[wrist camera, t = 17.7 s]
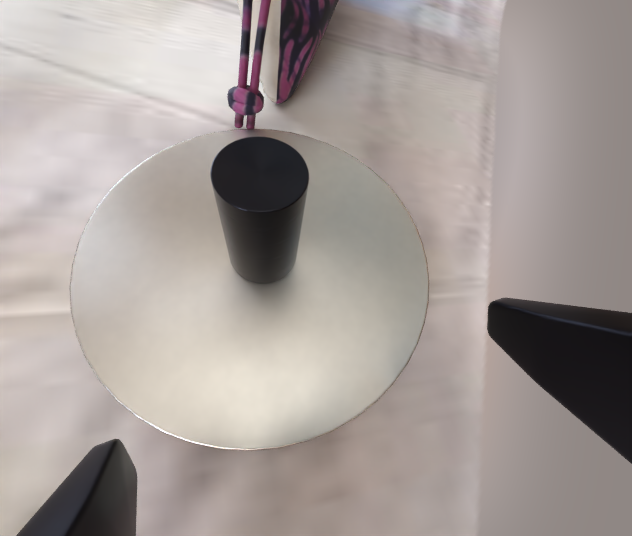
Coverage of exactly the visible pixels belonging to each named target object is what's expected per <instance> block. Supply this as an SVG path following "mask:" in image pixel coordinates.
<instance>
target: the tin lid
mask: <svg viewBox="0 0 632 536" xmlns="http://www.w3.org/2000/svg"><path fill="white" fill-rule="evenodd" d="M428 296H429V277H428V267H427V260H426V256H425V252H424V248H423V244H422V241H421V238H420V236H419V233H418V231H417V228H416V226H415V224H414V222H413V220H412V218H411V216H410V214H409V212H408V211H407V209H406V208H405V206H404V205H403V203H402V202H401V200H400V199H399V198H398V196H397V195H396V194H395V193H394V192H393V190H392V189H391V188H390V187H389V186H388V185H387V184H386V182H385V181H383V180H382V179H381V178H380V177H379V176H378V175H377V174H376V173H375V172H374V171H372V170H371V169H370V168H369V167H367V166H366V165H364V164H363V163H362V162H360V161H359V160H358V159H356V158H354V157H353V156H351V155H349V154H347V153H346V152H344V151H342V150H340V149H338V148H336V147H334V146H332V145H329V144H327V143H325V142H322V141H319V140H316V139H313V138H310V137H307V136H303V135H299V134H295V133H291V132H284V131H277V130H267V129H237V130H228V131H221V132H214V133H210V134H206V135H202V136H198V137H194V138H192V139H189V140H186V141H183V142H180V143H177V144H175V145H173V146H171V147H169V148H167V149H164V150H162V151H160V152H158V153H157V154H155V155H153V156H152V157H150V158H148V159H147V160H145V161H143V162H142V163H141V164H139V165H138V166H137V167H135V168H134V169H133V170H131V171H130V172H129V173H127V174H126V175H125V176H124V177H123V178H122V179H121V180H120V181H119V182H118V183H117V184H116V185H115V186H114V187H113V188H112V189H111V190H110V191H109V192H108V194H107V195H106V196H105V197H104V199H103V200H102V201H101V202H100V203H99V205H98V206H97V208H96V209H95V211H94V213H93V214H92V216H91V218H90V219H89V221H88V223H87V224H86V227H85V229H84V231H83V234H82V236H81V238H80V240H79V243H78V246H77V250H76V253H75V257H74V261H73V264H72V273H71V282H70V301H71V314H72V318H73V323H74V327H75V332H76V336H77V338H78V341H79V343H80V346H81V348H82V351H83V353H84V356H85V358H86V360H87V361H88V363H89V365H90V366H91V368H92V370H93V371H94V373H95V374H96V376H97V378H98V379H99V381H100V382H101V383H102V384H103V385H104V386H105V388H106V389H107V390H108V391H109V392H110V393H111V394H112V395H113V397H114V398H115V399H116V400H117V401H118V402H119V403H121V404H122V405H123V406H124V407H125V408H127V409H128V410H129V411H130V412H132V413H133V414H134V415H135V416H137V417H138V418H139V419H141V420H143V421H144V422H146V423H148V424H150V425H151V426H153V427H155V428H157V429H158V430H160V431H162V432H164V433H166V434H169V435H172V436H174V437H177V438H179V439H182V440H185V441H187V442H190V443H194V444H199V445H204V446H208V447H213V448H218V449H229V450H246V451H251V450H263V449H274V448H281V447H285V446H289V445H294V444H298V443H302V442H306V441H309V440H311V439H314V438H316V437H319V436H321V435H324V434H327V433H329V432H332V431H334V430H335V429H337V428H339V427H341V426H342V425H344V424H346V423H348V422H349V421H351V420H353V419H355V418H356V417H357V416H359V415H360V414H361V413H363V412H364V411H365V410H366V409H368V408H369V407H370V406H371V405H373V404H374V403H375V402H377V401H378V399H379V398H380V397H381V396H382V395H383V394H384V393H385V392H386V391H387V390H388V389H389V388H390V387H391V386H392V385H393V384H394V382H395V381H396V379H397V378H398V377H399V375H400V374H401V372H402V371H403V370H404V368H405V367H406V365H407V364H408V362H409V360H410V358H411V356H412V354H413V352H414V350H415V348H416V346H417V344H418V341H419V338H420V335H421V332H422V329H423V326H424V323H425V318H426V312H427V307H428Z"/></svg>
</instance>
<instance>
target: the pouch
mask: <svg viewBox="0 0 632 536" xmlns="http://www.w3.org/2000/svg"><path fill="white" fill-rule="evenodd" d="M237 2H238V6H239V10H240V15H241V19H242V36H241V51H240V64H239V78H238V86H237V87H233V88H231V89H230V90H229V91H228V96H227V97H228V103H229V107H230V108H232V109H233V110H234V111H235V112H236V114H235V127H237V128H241V127H242V126H243V118H244V115H247V124H246V127H247V129H254V126H255V116H256V113H258V112H260V111H261V110H262V108H263V105H264V97H263V95H262V94H261V92H260V91H259V90H258V87H259V79H260V81H261V82H262V84H263V90H264V93H265V94H266V95H267V96H268V98H269V99H270V100H271V101H272V102H274V103H276V104H277V103H282V102H284V101H286V100H287V99H289V98H290V97H291V96H292V94H293V93H294V91H295V89H296V88H297V86H298V85H299V83H300V81H301V79H302V78H303V76H304V74H305V72H306V70H307V68H308V66H309V65H310V62H311V60H312V58H313V56H314V54H315V52H316V50H317V48H318V46H319V43H320V41H321V39H322V37H323V34H324V32H325V30H326V28H327V25H328V23H329V21H330V19H331V16H332V14H333V11H334V9H335V7H336V4H337V2H338V0H237ZM249 50H250V53H251V56H252V59H253V64H252V73H251V82H250V86H249V85H247V74H248V62H249Z"/></svg>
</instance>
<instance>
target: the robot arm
mask: <svg viewBox="0 0 632 536" xmlns="http://www.w3.org/2000/svg"><path fill="white" fill-rule="evenodd" d="M487 330H488V333H489V335H490V337H491V338H492V339H493V340H494V341H495V342H496V343H497V344H498V345H499V346H500V347H501V348H502V349H503V350H504V351H505V352H506V353H507V354H508V355H509V356H510V357H511V358H512V359H513V360H514V361H515V362H516V363H517V364H518V365H519V366H520V367H521V368H522V369H523V370H524V371H525V372H526V373H527V374H528V375H529V376H530V377H531V378H532V379H533V380H534V381H535V382H536V383H537V384H538V385H540V386H541V387H542V388H543V389H544V390H545V391H547V392H548V393H549V394H550V395H551V396H552V397H554V398H555V399H556V400H557V401H558V402H559V403H561V404H562V405H563V406H564V407H565V408H567V409H568V410H569V411H570V412H571V413H572V414H574V415H575V416H576V417H577V418H578V419H580V420H581V421H582V422H583V423H584V424H585V425H587V426H588V427H589V428H590V429H591V430H593V431H594V432H595V433H596V434H597V435H598V436H600V437H601V438H602V439H603V440H604V441H605V442H607V443H608V444H609V445H610V446H612V447H613V448H614V449H615V450H616V451H617V452H618V453H620V454H621V455H622V456H623V457H624V458H625V459H627V460H628V461H629V462H630V463H632V313H627V312H619V311H611V310H602V309H594V308H586V307H577V306H570V305H562V304H553V303H545V302H537V301H529V300H520V299H513V298H501V299H498V300H495V301H493V302H491V303H490V305H489V306H488V324H487ZM136 507H137V473H136V469H135V466H134V464H133V462H132V460H131V458H130V456H129V454H128V453H127V451H126V449H125V447H124V445H123V443H122V442H121V441H120V440H119V439H113V440H110V441H108V442H105V443H102V444H99V445H97V446H95V447H94V448H92V450H90V452H89V453H88V454H87V455H86V456H85V457H84V458H83V460H82V461H81V462H80V463H79V464H78V465H77V467H76V468H75V469H74V470H73V471H72V472H71V473H70V475H69V476H68V477H67V478H66V479H65V480H64V481H63V483H62V484H61V485H60V486H59V487H58V488H57V489H56V491H55V492H54V493H53V494H52V495H51V496H50V497H49V499H48V500H47V501H46V502H45V503H44V504H43V505H42V507H41V508H40V509H39V510H38V511H37V512H36V514H35V515H34V516H33V517H32V518H31V519H30V520H29V522H28V523H27V524H26V525H25V526H24V527H23V528H22V530H21V531H20V532H19V533H18V534H17V535H16V536H136Z"/></svg>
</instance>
